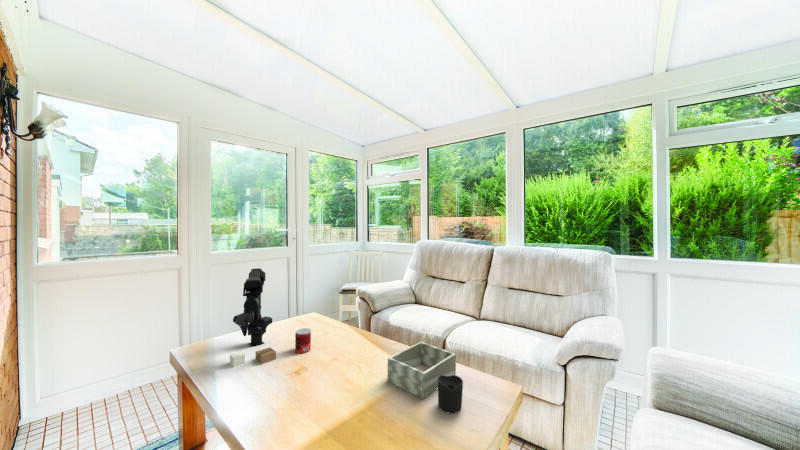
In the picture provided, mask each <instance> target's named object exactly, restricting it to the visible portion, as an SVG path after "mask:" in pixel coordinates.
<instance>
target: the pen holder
mask: <svg viewBox="0 0 800 450" xmlns="http://www.w3.org/2000/svg"><path fill="white" fill-rule="evenodd" d="M463 387H464V380H463V379H462V377H460V376H458V375H457V374H456V375H452V376H444V375H441V376H439V377H438V389H437V396H438V397H437V402H438V403H437V404H438V407H439V409H440V408H441V409H442V410H441V409H440V410H441V411H442V412H444V411H445V413H447V412H449V413H448V414H456V413H455V412H457V413H459V412H460V411H461V410H462V406H463V390H464V389H463ZM458 411H459V412H458Z"/></svg>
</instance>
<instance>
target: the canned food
mask: <svg viewBox="0 0 800 450" xmlns="http://www.w3.org/2000/svg"><path fill="white" fill-rule="evenodd" d="M311 333H312V330H311V328H303V327H302V328H299V329H296V330H295V333H294V334H295V341H294V342H295V343H294V345H295V349H294V351H295V353H296V354H299V355H301V354H302V355H303V354H307V353H309V352H310V351H311V348H312V347H311V343H312V342H311V341H312V340H311V339H312V337H311Z"/></svg>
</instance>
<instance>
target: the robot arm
mask: <svg viewBox="0 0 800 450" xmlns="http://www.w3.org/2000/svg"><path fill="white" fill-rule="evenodd" d="M266 277H267V276H266V272H265V271H263V270H262V268H260V267H259V268H258V267H257V268H251V270H250V272H248V278H246V279H245V282H244V283H243V289H242V291H243V293H242V296H243V297H246V299H245V300H244V303H243V312H242V313H240V314H236V315H234V316H233V318H232V322H233V323H235V325H237V326H239V328H240V329H241V333H242V336H243V337H246V336H250V342H248V345H249V346H250V347H252V348H255V347H257V346H261V345H265V342H264V341H263V336H264V334H266V333H267V327H269V325H271V324H272V323H273V318H272V317H271V316H262V311H261V310H262V293H263V292H264V285H265V282H266Z"/></svg>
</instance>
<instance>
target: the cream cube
mask: <svg viewBox="0 0 800 450" xmlns="http://www.w3.org/2000/svg"><path fill="white" fill-rule="evenodd" d="M244 364H246V353H245V352H243V351H241V350H240V351H237V352H233V353H230V354H229V365H231V367H233V368H235V367H238V366H241V365H244Z"/></svg>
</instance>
